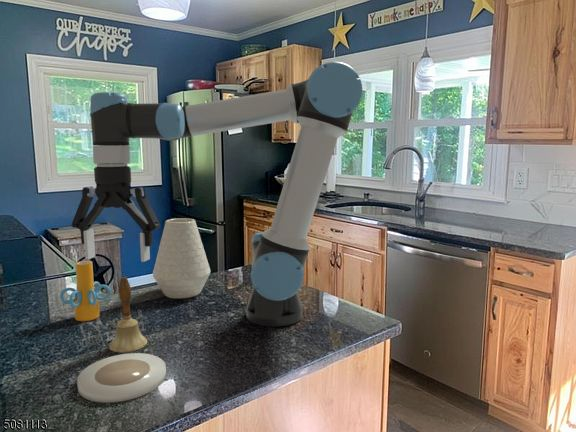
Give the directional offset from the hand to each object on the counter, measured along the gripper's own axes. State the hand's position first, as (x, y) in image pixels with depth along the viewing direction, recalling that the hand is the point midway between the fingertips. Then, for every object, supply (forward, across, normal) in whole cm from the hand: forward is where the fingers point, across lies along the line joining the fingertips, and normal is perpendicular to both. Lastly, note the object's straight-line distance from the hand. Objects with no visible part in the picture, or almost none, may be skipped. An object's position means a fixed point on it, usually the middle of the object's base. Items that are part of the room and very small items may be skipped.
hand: (117, 259), depth 99 cm
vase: (+20, 0, -35) cm, 40 cm away
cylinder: (+20, +16, -11) cm, 28 cm away
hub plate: (+20, -10, +16) cm, 27 cm away
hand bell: (+20, -3, +2) cm, 20 cm away
